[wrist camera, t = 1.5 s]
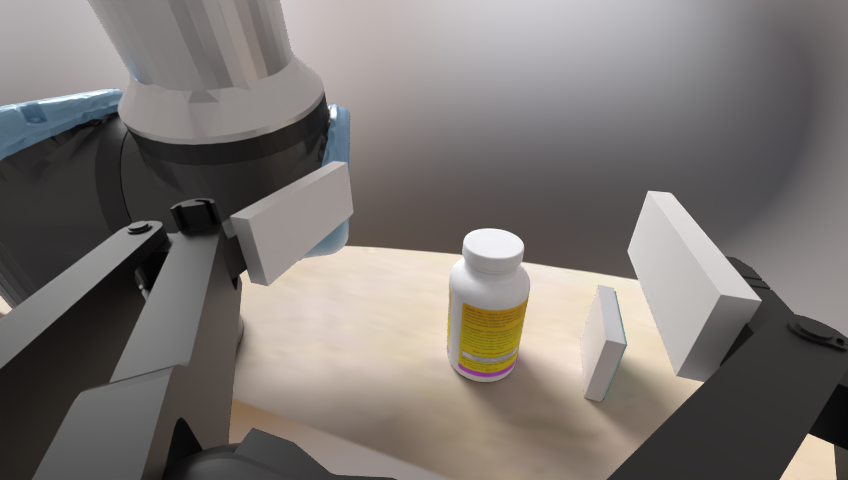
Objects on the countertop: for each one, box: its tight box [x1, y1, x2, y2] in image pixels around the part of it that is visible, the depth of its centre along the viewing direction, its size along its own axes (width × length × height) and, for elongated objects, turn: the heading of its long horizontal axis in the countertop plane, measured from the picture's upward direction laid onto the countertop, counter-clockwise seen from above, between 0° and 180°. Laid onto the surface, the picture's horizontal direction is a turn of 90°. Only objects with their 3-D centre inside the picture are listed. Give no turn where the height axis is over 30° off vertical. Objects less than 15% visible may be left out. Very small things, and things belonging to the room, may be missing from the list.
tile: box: [580, 285, 627, 402], centre depth 30 cm, size 2×7×7 cm, turn 161°
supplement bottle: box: [447, 229, 530, 382], centre depth 29 cm, size 7×7×13 cm
